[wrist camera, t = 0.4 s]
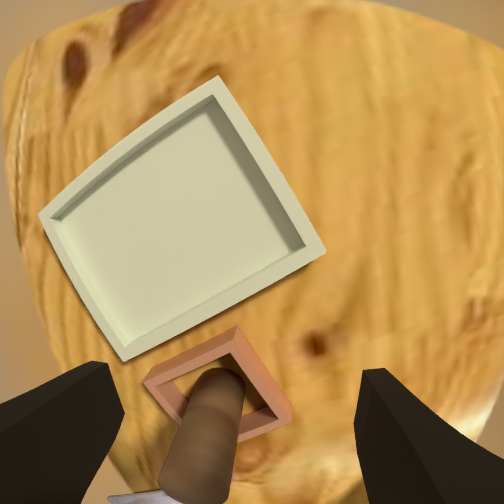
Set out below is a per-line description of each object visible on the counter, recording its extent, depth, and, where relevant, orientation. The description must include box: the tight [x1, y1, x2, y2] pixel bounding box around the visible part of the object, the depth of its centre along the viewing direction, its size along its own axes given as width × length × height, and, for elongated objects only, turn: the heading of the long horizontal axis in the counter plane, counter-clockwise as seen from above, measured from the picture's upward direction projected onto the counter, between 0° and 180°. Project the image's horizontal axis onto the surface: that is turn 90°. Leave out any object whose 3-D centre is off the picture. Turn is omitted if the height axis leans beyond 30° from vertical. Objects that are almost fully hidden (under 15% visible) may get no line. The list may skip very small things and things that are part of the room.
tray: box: [38, 75, 327, 362], centre depth 17 cm, size 14×11×2 cm
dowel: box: [158, 368, 245, 504], centre depth 15 cm, size 3×3×9 cm
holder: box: [143, 325, 292, 442], centre depth 19 cm, size 7×7×2 cm
